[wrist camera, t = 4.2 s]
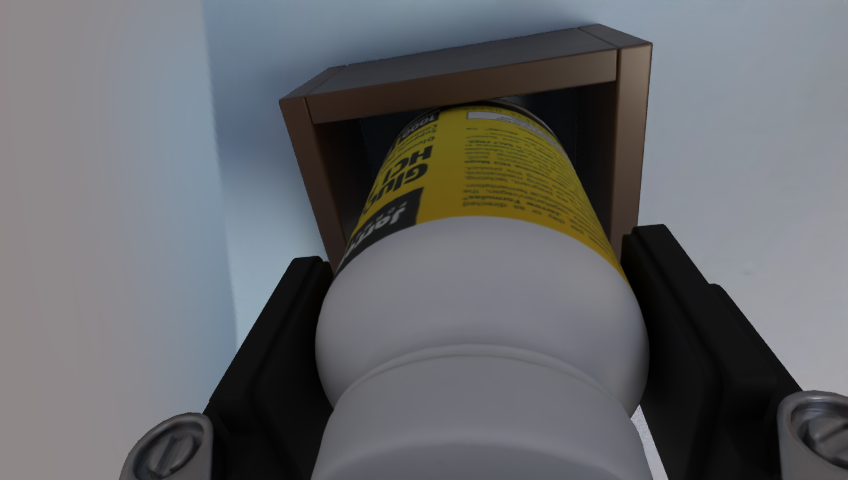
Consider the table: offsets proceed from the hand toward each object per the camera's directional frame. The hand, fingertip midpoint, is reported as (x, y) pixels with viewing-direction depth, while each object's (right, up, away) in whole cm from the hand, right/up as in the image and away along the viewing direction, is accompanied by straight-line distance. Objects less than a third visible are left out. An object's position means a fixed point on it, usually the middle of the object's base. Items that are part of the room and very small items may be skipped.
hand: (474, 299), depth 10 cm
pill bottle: (0, +3, +5) cm, 6 cm away
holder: (+1, +4, +8) cm, 9 cm away
